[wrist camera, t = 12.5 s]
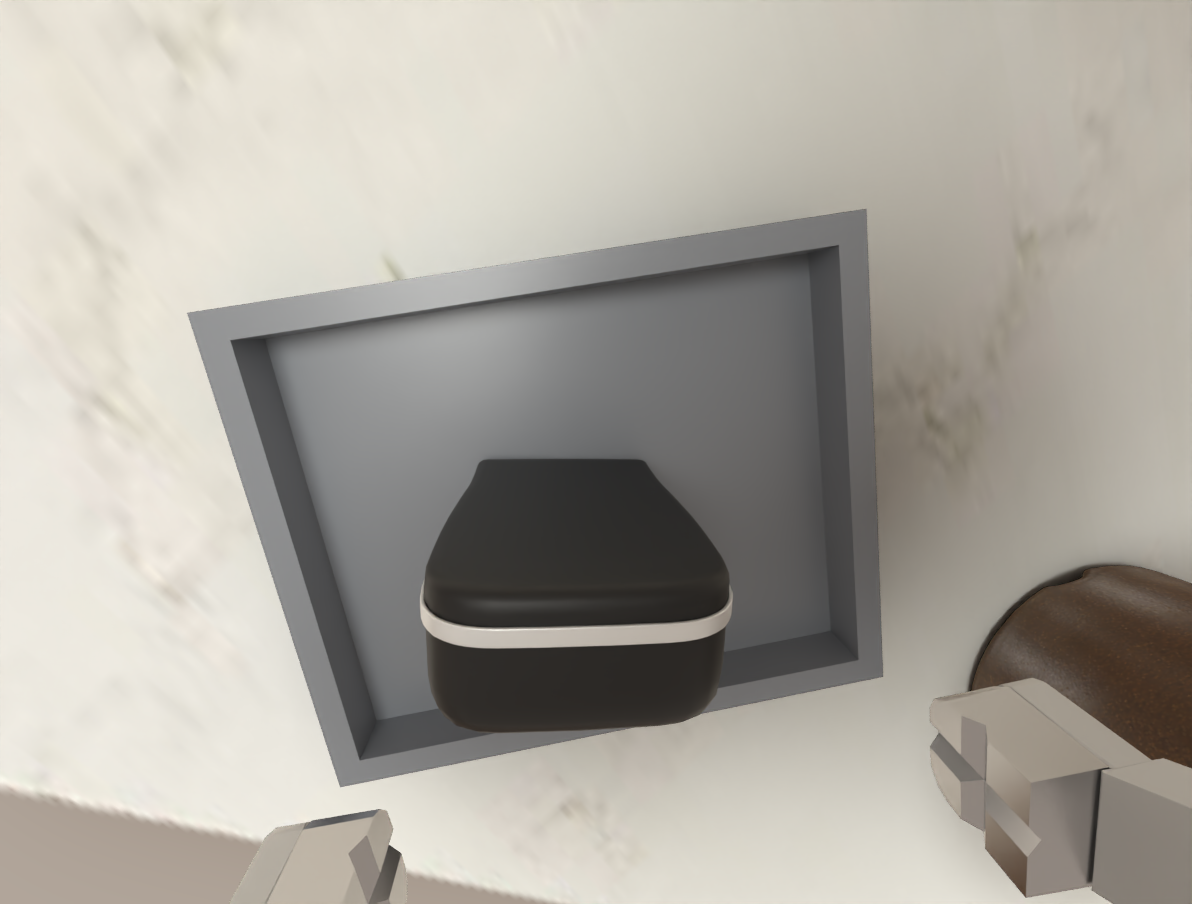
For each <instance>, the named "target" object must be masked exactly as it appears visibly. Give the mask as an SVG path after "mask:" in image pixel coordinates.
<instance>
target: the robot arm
mask: <svg viewBox="0 0 1192 904" xmlns="http://www.w3.org/2000/svg"><path fill="white" fill-rule="evenodd" d="M930 723H931V724H932V725H933V726H934V727H935V728H936V729H937V730H938V731H939V734H938V735H937V737H936V738H935V740H934V741H933V743H932V744H931V746H930V756H931V767H932V770H933V773H934V776H935V778H936V781H937V784H938V787H939V788H940V790H941V792H942V793H943V795H944V797H945V799H946V800H947V802H948V803H949V805H950V806H951V807H952V808H953V810H954V811H955V812H956V813H957V815H958V816H959V817H960V818H961V819H962V820H964V821H966V822H968V823H970V824H971V825H973V826H975V827H977V828H979V829H981V830H982V831H984V841H985V849H986V850H987V851H988V853H989V854H990V855H991V856H992V857H993V859H994V860H995V861H996V862H997V863H998V865H999V866H1000V867H1001V868H1002V869H1003V871H1004V872H1005V873H1006V874H1007V876H1008V877H1009V878H1010V879H1011V880H1012V882H1013V883H1014V884H1015V885H1016V886H1017V888H1018V889H1019V890H1020V891H1021V892H1022V894H1023V895H1024V896H1025V897H1026V898H1028V897H1033V896H1039V895H1044V894H1050V893H1056V892H1061V891H1067V890H1073V889H1078V888H1084V887H1089V886H1092V891H1094V892H1095V893H1097V894H1098V895H1100V896H1101V897H1103V898H1105V899H1106V900H1108V901H1109V902H1111V903H1112V904H1192V768H1189V767H1186V766H1183V765H1181V764H1178V763H1175V762H1172V761H1170V760H1167V759H1164V758H1162V759H1156V760H1151V759H1149V758H1148V757H1147V756H1145V755H1144V754H1143V753H1141V752H1140V751H1139V750H1137V749H1136V748H1134V747H1133V746H1132V745H1130V744H1129V743H1128V742H1126V741H1125V740H1123V739H1122V738H1121V737H1119V736H1118V735H1117V734H1115V733H1114V732H1113V731H1111V730H1110V729H1108V728H1107V727H1106V726H1104V725H1103V724H1102V723H1100V722H1099V721H1098V720H1096V719H1095V718H1093V717H1092V716H1091V715H1089V714H1088V713H1087V712H1085V711H1084V710H1083V709H1081V708H1080V707H1078V706H1077V705H1076V704H1074V703H1073V702H1072V701H1070V700H1069V699H1067V698H1066V697H1065V696H1063V695H1062V694H1061V693H1059V692H1058V691H1057V690H1055V689H1054V688H1052V687H1051V686H1050V685H1048V684H1047V683H1045V682H1043V681H1041V680H1038V679H1035V678H1029V679H1024V680H1020V681H1015V682H1010V683H1006V684H1001V685H999V686H993V687H988V688H983V689H978V690H974V691H969V692H964V693H959V694H954V695H950V696H945V697H940V698H935V699H934V700H933V702H932V704H931V706H930ZM392 832H393V826H392V823H391V821H390V818H389V815H388V813H387V811H385V810H381V809H378V810H372V811H366V812H360V813H354V814H348V815H342V816H337V817H331V818H325V819H319V820H313V821H311V822H307V823H301V824H295V825H289V826H283V827H277V828H275V829H274V830H273V831H272V832H271V833H270V834H269V835H267V836H266V838H265V839H264V841H263V843H262V844H261V846H260V848H259V850H258V852H257V853H256V855H255V857H254V859H253V861H252V863H251V864H250V866H249V868H248V870H247V872H246V873H245V876H244V877H243V879H242V881H241V882H240V884H239V886H238V888H237V890H236V891H235V893H234V895H233V897H232V899H231V900H230V902H229V904H406V901H407V900H406V899H407V876H406V868H405V864H404V861H403V857H402V854H401V853H400V852H399V851H397V850H396V849H394V848H393V847H391V846H390V845H389V842H390V839H391V836H392Z"/></svg>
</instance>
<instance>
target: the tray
mask: <svg viewBox="0 0 1192 904" xmlns="http://www.w3.org/2000/svg"><path fill="white" fill-rule="evenodd" d="M187 314H188V317H189V320H190V323H191V326H192V329H193V332H194V335H195V339H196V342H197V345H198V348H199V351H200V354H201V357H202V360H203V363H204V366H205V370H206V373H207V376H208V379H209V382H210V385H211V388H212V391H213V394H214V397H215V401H216V404H217V407H218V410H219V413H220V416H221V419H222V422H223V425H224V428H225V432H226V435H227V438H228V441H229V444H230V447H231V450H232V453H233V456H234V459H235V463H236V466H237V469H238V472H239V475H240V478H241V481H242V484H243V487H244V490H245V494H246V497H247V500H248V503H249V506H250V509H251V512H252V515H253V518H254V521H255V525H256V528H257V531H258V534H259V537H260V540H261V543H262V546H263V549H264V552H265V556H266V559H267V562H268V565H269V568H270V571H271V574H272V577H273V580H274V583H275V587H276V590H277V593H278V596H279V599H280V602H281V605H282V608H283V611H284V614H285V618H286V621H287V624H288V627H289V630H290V633H291V636H292V639H293V642H294V645H295V649H296V652H297V655H298V658H299V661H300V664H301V667H302V670H303V673H304V676H305V680H306V683H307V686H308V689H309V692H310V695H311V698H312V701H313V704H314V707H315V711H316V714H317V717H318V720H319V723H320V726H321V729H322V732H323V735H324V738H325V742H326V745H327V748H328V751H329V754H330V757H331V760H332V763H333V766H334V769H335V773H336V776H337V779H338V782H339V785H340V787H344V786H349V785H354V784H359V783H364V782H368V781H373V780H378V779H383V778H388V777H393V776H398V775H403V774H408V773H413V772H418V771H422V770H427V769H432V768H437V767H442V766H447V765H452V764H457V763H462V762H467V761H472V760H476V759H481V758H486V757H491V756H496V755H501V754H506V753H511V752H516V751H521V750H526V749H530V748H535V747H540V746H545V745H550V744H555V743H560V742H565V741H570V740H575V739H580V738H584V737H589V736H594V735H599V734H604V733H609V732H614V731H619V730H624V729H629V728H616V729H600V730H585V731H557V732H524V733H483V732H477V731H473V730H469V729H466V728H462V727H459V726H456V725H455V724H454V723H452V722H451V721H450V720H448V719H447V718H446V717H445V716H444V715H443V714H442V712H441V711H440V709H439V708H438V706H437V704H436V702H435V700H434V697H433V695H432V693H431V688H430V683H429V677H428V666H427V645H426V628H425V626H424V625H423V623H422V620H421V613H420V593H421V587H422V584H423V581H424V579H425V571H426V565H427V563H428V560H429V558H430V555H431V553H432V550H433V548H434V546H435V543H436V541H437V539H438V537H439V534H440V532H441V530H442V529H443V527H444V525H445V523H446V521H447V519H448V517H449V516H450V514H451V513H452V511H453V509H454V508H455V506H456V504H457V503H458V501H459V500H460V498H461V497H462V495H463V494H464V492H465V491H466V489H467V488H468V486H469V485H470V483H471V481H472V479H473V476H474V474H475V472H476V469H477V465H478V464H479V462H481V461H482V460H487V459H638V460H643V461H645V462H646V463H647V465H648V467H649V468H650V470H651V471H652V472H653V474H654V475H655V476H656V478H657V479H658V480H659V481H660V483H661V484H662V485H663V486H664V487H665V488H666V489H667V490H668V491H669V492H670V493H671V494H672V495H673V496H674V497H675V498H676V499H677V500H678V501H679V502H680V503H681V505H682V506H683V507H684V508H685V509H686V510H687V511H688V512H689V513H690V515H691V516H692V517H693V518H694V519H695V521H696V522H697V523H698V524H699V526H700V527H701V528H702V530H703V531H704V532H705V533H706V535H707V536H708V538H709V539H710V540H711V542H712V543H713V545H714V546H715V547H716V549H717V550H718V552H719V553H720V555H721V556H722V558H723V560H724V562H725V564H726V567H727V569H728V572H729V579H730V583H729V584H730V587H731V589H732V593H733V601H732V613H731V617H730V620H729V622H728V623H727V625H726V632H725V644H724V656H723V665H722V670H721V675H720V679H719V684H718V689H717V694H716V696H715V697H714V698H713V700H712V701H711V703H710V704H709V705H708V706H707V707H706V708H705V709H704V711H703V712H702V713H707V712H712V711H717V710H722V709H727V708H732V707H737V706H742V705H747V704H751V703H756V702H761V701H766V700H771V699H776V698H781V697H786V696H791V695H796V694H801V693H805V692H810V691H815V690H820V689H825V688H830V687H835V686H840V685H845V684H850V683H855V682H859V681H864V680H869V679H874V678H879V677H883V662H882V634H881V606H880V578H879V550H878V522H877V494H876V466H875V438H874V409H873V381H872V353H871V325H870V297H869V269H868V241H867V213H866V209H862V210H856V211H849V212H843V213H836V214H829V215H823V216H816V217H810V218H803V219H797V220H790V221H784V222H777V223H771V224H764V225H758V226H751V227H745V228H738V229H732V230H725V231H718V232H712V233H705V234H699V235H692V236H686V237H679V238H673V239H666V240H660V241H653V242H647V243H640V244H634V245H627V246H621V247H614V248H607V249H601V250H594V251H588V252H581V253H575V254H568V255H562V256H555V257H549V258H542V259H536V260H529V261H523V262H516V263H510V264H503V265H496V266H490V267H483V268H477V269H470V270H464V271H457V272H451V273H444V274H438V275H431V276H425V277H418V278H412V279H405V280H398V281H392V282H385V283H379V284H372V285H366V286H359V287H353V288H346V289H340V290H333V291H327V292H320V293H314V294H307V295H301V296H294V297H287V298H281V299H274V300H268V301H261V302H255V303H248V304H242V305H235V306H229V307H222V308H216V309H209V310H203V311H196V312H190V313H187ZM702 713H701V714H702ZM631 728H634V727H631Z"/></svg>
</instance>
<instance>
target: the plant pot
mask: <svg viewBox="0 0 1192 904" xmlns="http://www.w3.org/2000/svg"><path fill="white" fill-rule="evenodd" d="M1029 678H1035V679H1038V680H1041V681H1043V682H1045V683H1047V684H1048V685H1050V686H1051V687H1052V688H1054V689H1055V690H1057V691H1058V692H1059V693H1061V694H1062V695H1063V696H1065V697H1066V698H1067V699H1069V700H1070V701H1072V702H1073V703H1074V704H1076V705H1077V706H1078V707H1080V708H1081V709H1083V710H1084V711H1085V712H1087V713H1088V714H1089V715H1091V716H1092V717H1093V718H1095V719H1096V720H1098V721H1099V722H1100V723H1102V724H1103V725H1104V726H1106V727H1107V728H1108V729H1110V730H1111V731H1113V732H1114V733H1115V734H1117V735H1118V736H1119V737H1121V738H1122V739H1123V740H1125V741H1126V742H1128V743H1129V744H1130V745H1132V746H1133V747H1134V748H1136V749H1137V750H1139V751H1140V752H1141V753H1143V754H1144V755H1145V756H1147V757H1148V758H1149V759H1151V760H1156V759H1162V758H1164V759H1167V760H1170V761H1172V762H1175V763H1178V764H1181V765H1183V766H1186V767H1189V768H1192V583H1189V582H1186V581H1183V580H1180V579H1177V578H1174V577H1171V576H1168V575H1166V574H1163V573H1160V572H1157V571H1153V570H1149V569H1145V568H1141V567H1134V566H1104V567H1096V568H1092V569H1087V570H1085V571H1084V572H1083V577H1082V578H1080V579H1078V580H1075V581H1072V582H1069V583H1066V584H1062V585H1058V586H1049V587H1045V588H1043V589H1041V590H1040V591H1039V592H1037V593H1036V594H1034V595H1033V596H1031V597H1030V598H1029V599H1028V600H1026V601H1025V602H1024V603H1023V604H1022V605H1021V606H1020V607H1019V608H1018V609H1016V610H1015V611H1014V612H1013V613H1012V615H1011V616H1010V617H1009V618H1008V619H1007V620H1006V622H1005V623H1004V624H1003V625H1002V626H1001V627H1000V629H999V630H998V631H997V633H996V634H995V635H994V637H993V638H992V640H991V641H990V643H989V645H988V647H987V648H986V650H985V652H984V654H983V656H982V658H981V661H980V663H979V665H978V668H977V671H976V674H975V677H974V681H973V686H972V691H974V690H978V689H983V688H988V687H993V686H999V685H1001V684H1006V683H1010V682H1015V681H1020V680H1024V679H1029Z"/></svg>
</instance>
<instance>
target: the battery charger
mask: <svg viewBox="0 0 1192 904" xmlns="http://www.w3.org/2000/svg"><path fill="white" fill-rule="evenodd" d="M729 583H730V579H729V572H728V569H727V567H726V564H725V562H724V560H723V558H722V556H721V555H720V553H719V552H718V550H717V549H716V547H715V546H714V545H713V543H712V542H711V540H710V539H709V538H708V536H707V535H706V533H705V532H704V531H703V530H702V528H701V527H700V526H699V524H698V523H697V522H696V521H695V519H694V518H693V517H692V516H691V515H690V513H689V512H688V511H687V510H686V509H685V508H684V507H683V506H682V505H681V503H680V502H679V501H678V500H677V499H676V498H675V497H674V496H673V495H672V494H671V493H670V492H669V491H668V490H667V489H666V488H665V487H664V486H663V485H662V484H661V483H660V481H659V480H658V479H657V478H656V476H655V475H654V474H653V472H652V471H651V470H650V468H649V467H648V465H647V463H646V462H645V461H643V460H638V459H487V460H482V461H481V462H479V464H478V465H477V469H476V472H475V474H474V476H473V479H472V481H471V483H470V485H469V486H468V488H467V489H466V491H465V492H464V494H463V495H462V497H461V498H460V500H459V501H458V503H457V504H456V506H455V508H454V509H453V511H452V513H451V514H450V516H449V517H448V519H447V521H446V523H445V525H444V527H443V529H442V530H441V532H440V534H439V537H438V539H437V541H436V543H435V546H434V548H433V550H432V553H431V555H430V558H429V560H428V563H427V565H426V571H425V579H424V581H423V584H422V587H421V593H420V613H421V620H422V623H423V625H424V626H425V628H426V645H427V666H428V677H429V683H430V688H431V693H432V695H433V697H434V700H435V702H436V704H437V706H438V708H439V709H440V711H441V712H442V714H443V715H444V716H445V717H446V718H447V719H448V720H450V721H451V722H452V723H454V724H455V725H456V726H459V727H462V728H466V729H469V730H473V731H477V732H483V733H524V732H557V731H585V730H600V729H616V728H631V727H647V726H660V725H667V724H674V723H679V722H683V721H685V720H688V719H690V718H693V717H695V716H697V715H700V714H701V713H702V712H703V711H704V709H705V708H706V707H707V706H708V705H709V704H710V703H711V701H712V700H713V698H714V697H715V696H716V694H717V689H718V684H719V679H720V675H721V670H722V665H723V656H724V644H725V632H726V625H727V623H728V622H729V620H730V617H731V613H732V601H733V593H732V589H731V587H730V584H729Z"/></svg>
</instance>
